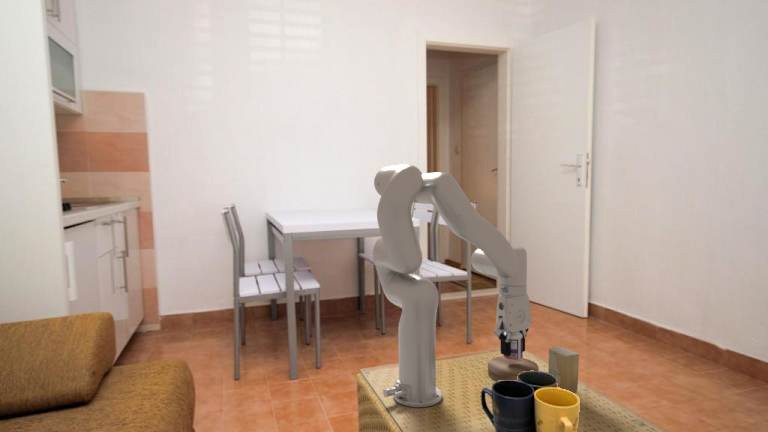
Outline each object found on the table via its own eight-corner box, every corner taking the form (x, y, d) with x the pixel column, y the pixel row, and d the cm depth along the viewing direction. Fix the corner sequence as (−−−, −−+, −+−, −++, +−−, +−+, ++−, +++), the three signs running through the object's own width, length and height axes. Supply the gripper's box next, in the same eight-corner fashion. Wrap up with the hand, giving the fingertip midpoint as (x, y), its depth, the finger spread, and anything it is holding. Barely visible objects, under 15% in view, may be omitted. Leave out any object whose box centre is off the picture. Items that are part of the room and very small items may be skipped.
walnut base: (516, 389, 124) (516, 378, 124) (477, 373, 136) (477, 362, 136) (548, 377, 132) (548, 366, 132) (510, 362, 144) (510, 353, 144)
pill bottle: (512, 354, 138) (512, 321, 137) (526, 359, 133) (526, 326, 132) (499, 357, 135) (499, 324, 134) (512, 363, 130) (512, 329, 130)
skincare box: (547, 394, 122) (547, 348, 121) (559, 390, 123) (559, 345, 123) (566, 404, 116) (566, 355, 115) (578, 400, 118) (579, 353, 117)
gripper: (502, 296, 125) (502, 363, 126) (543, 288, 135) (542, 350, 136) (481, 291, 131) (482, 355, 132) (522, 284, 141) (522, 343, 142)
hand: (512, 351), depth 134 cm, fingers closed on pill bottle, 5 cm apart
